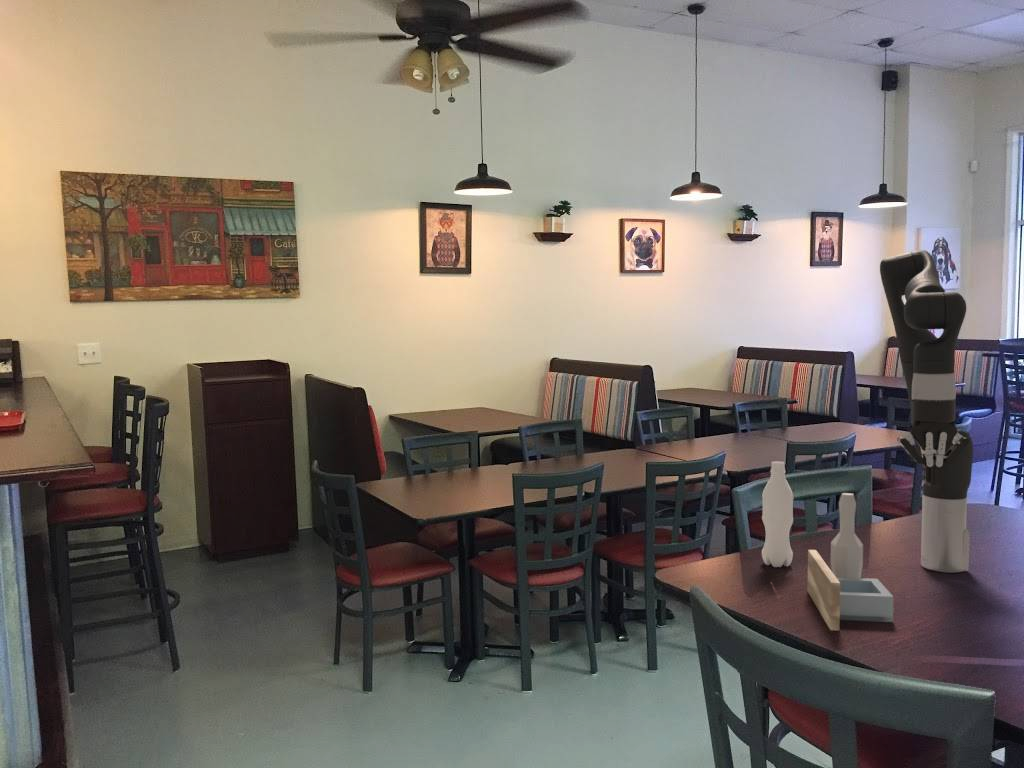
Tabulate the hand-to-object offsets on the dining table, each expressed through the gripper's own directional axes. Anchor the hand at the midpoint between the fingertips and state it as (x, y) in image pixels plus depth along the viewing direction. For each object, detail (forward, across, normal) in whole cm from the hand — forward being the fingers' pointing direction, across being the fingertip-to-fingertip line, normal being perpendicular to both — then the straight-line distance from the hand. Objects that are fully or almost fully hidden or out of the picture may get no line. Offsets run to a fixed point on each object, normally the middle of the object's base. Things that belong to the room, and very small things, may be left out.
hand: (932, 485), depth 157 cm
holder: (+26, +14, 0) cm, 29 cm away
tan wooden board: (+26, +10, 0) cm, 28 cm away
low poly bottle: (+27, +13, -12) cm, 32 cm away
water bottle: (+27, +24, -33) cm, 49 cm away
